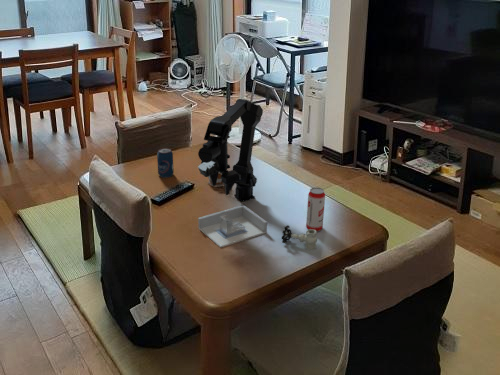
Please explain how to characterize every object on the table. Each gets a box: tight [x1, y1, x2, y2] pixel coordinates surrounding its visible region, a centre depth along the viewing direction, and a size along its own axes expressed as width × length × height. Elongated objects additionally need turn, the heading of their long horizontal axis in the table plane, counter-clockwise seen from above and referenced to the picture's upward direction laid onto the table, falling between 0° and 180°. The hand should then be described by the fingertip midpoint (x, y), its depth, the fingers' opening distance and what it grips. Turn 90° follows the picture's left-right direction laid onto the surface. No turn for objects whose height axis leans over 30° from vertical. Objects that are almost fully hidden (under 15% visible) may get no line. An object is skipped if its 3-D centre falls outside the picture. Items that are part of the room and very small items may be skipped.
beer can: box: [305, 187, 326, 233], centre depth 214 cm, size 6×6×16 cm
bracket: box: [220, 215, 245, 236], centre depth 212 cm, size 8×5×6 cm, turn 124°
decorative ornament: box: [207, 172, 225, 188], centre depth 248 cm, size 8×8×15 cm
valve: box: [281, 225, 318, 251], centre depth 205 cm, size 7×7×12 cm
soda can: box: [156, 147, 175, 179], centre depth 256 cm, size 7×7×12 cm
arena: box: [197, 204, 268, 248], centre depth 214 cm, size 20×16×5 cm
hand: (220, 190), depth 219 cm, fingers open, 9 cm apart
